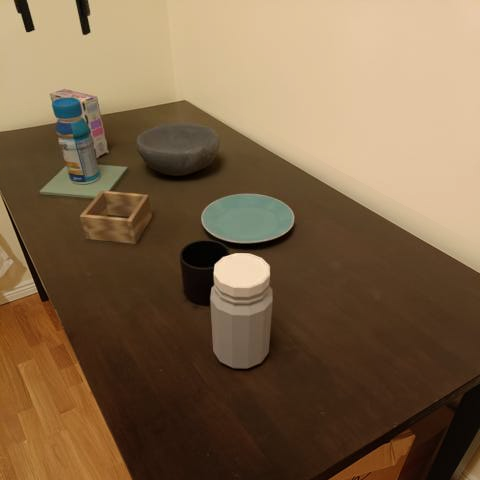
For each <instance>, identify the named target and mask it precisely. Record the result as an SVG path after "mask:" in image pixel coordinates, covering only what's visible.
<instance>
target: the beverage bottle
mask: <svg viewBox="0 0 480 480" xmlns="http://www.w3.org/2000/svg"><path fill="white" fill-rule="evenodd" d="M51 108H52V111H53V115H54V117H55V118H56V120H57V119H58V120H57V121H56V123H55V124H56V125H55V132H56V135H57V136H58V138H57V139H58V140H57V141H58V145H59V147H60V151H61V152H62V153H61V154H62V156H63V158H64V163H65V166H67V170H68V173H69V177H70V180H71V181H72V182H73V183H76V184H89V183H93V182H95V181H97V180H98V179H99V177H100V172H99V169H98V165H99V164H98V160H97V159H96V156H95V152H94V147H93V140H92V136H91V135H90V133H89V126H88V124H87V123H86V121H85V120H84V119H83V118H82V117H81V116H82V108H81V104H80V101H79V100H78V99H76V98H70V97H68V98H60V99H56V100H54V101H53V102H52V101H51Z"/></svg>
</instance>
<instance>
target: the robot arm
mask: <svg viewBox="0 0 480 480" xmlns="http://www.w3.org/2000/svg"><path fill="white" fill-rule="evenodd" d="M13 3H14V7H15V9H16V11H17V14H20V16H21V19H22V23H23V26H24V30H25V33H31V32H34V31H35V30H36V28H35V24H34V20H33V17H32V13H31V9H30V6H29V3H28V0H13ZM75 5H76V10H77V15H78V19H79V25H80V29H81V33H82V36H87V35H89V34H90V33H92V32H91V31H92V30H91V27H90V21H89V16H91V9H90V3H89V0H75Z"/></svg>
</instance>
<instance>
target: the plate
mask: <svg viewBox="0 0 480 480" xmlns="http://www.w3.org/2000/svg"><path fill="white" fill-rule="evenodd" d="M200 219H201V220H200V221H201V224H202V227H203V228H204V229H205V231H207V232H208V233H209V235H212V236H213V237H214V238H216V239H219V240H221V241H225V242H227V243H233V244H243V245H244V244H245V245H247V244H248V245H249V244H259V243H264V242H269V241H272V240H276V239H278V238H281V237H282V236H284V235H286V234H287V233H288V232H289V231H290V230H291V229H292V227H293V226H294V223H295V214H294V211H293V209H292V208H291V207H290V206H289V205H287V204H286V203H285V202H283V201H282V200H279V199H277V198H275V197H272V196H269V195H264V194H260V193H236V194H231V195H227V196H223V197H220V198H219V199H216V200H214V201H213V202H211V203H209V204H208V205H207V206H206V207H205V208H204V210H203V211H202V213H201V216H200Z"/></svg>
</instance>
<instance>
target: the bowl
mask: <svg viewBox="0 0 480 480" xmlns="http://www.w3.org/2000/svg"><path fill="white" fill-rule="evenodd" d="M135 146H136V149H137V153H138V154H139V156H140V157H141V158H142V160H143V161H144V163H146V165H147V166H148V167H149V168H151V169H152V170H154V171H156V172H158V173H160V174H163V175H168V176H174V177H179V176H187V175H190V174H192V173H195V172H198V171H200V170H202V169H205V168H207V167H208V166H209V165H211V163H212V162H213V161H214V160H215V158H216V156H217V155H218V152H219V149H220V136H219V134H218V132H217V131H216V130H215V129H213V128H212V127H210V126H207V125H204V124H200V123H194V122H174V123H173V122H172V123H165V124H160V125H156V126H153V127H151V128H148V129H145V130H144V131H142V132H141V133H140V134H139V135H138V136H137V138H136V142H135Z"/></svg>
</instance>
